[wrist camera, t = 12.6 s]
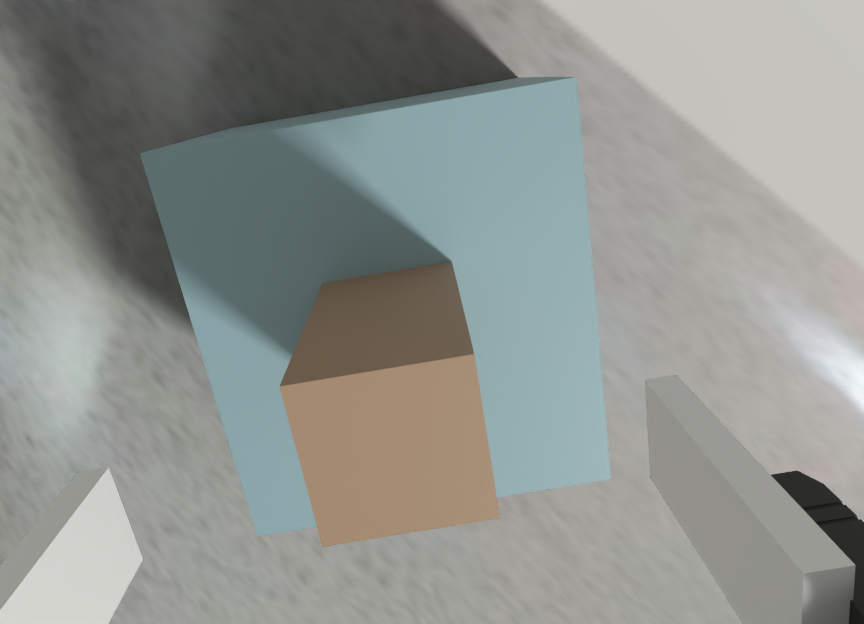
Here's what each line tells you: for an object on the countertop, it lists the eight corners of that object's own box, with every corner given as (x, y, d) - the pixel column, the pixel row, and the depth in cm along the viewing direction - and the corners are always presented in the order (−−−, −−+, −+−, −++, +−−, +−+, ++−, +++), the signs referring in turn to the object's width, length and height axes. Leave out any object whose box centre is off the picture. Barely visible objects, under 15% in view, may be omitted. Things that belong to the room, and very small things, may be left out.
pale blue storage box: (301, 401, 41) (195, 726, 20) (230, 128, 36) (-14, 195, 15) (550, 360, 41) (697, 647, 20) (518, 77, 35) (674, 75, 15)
